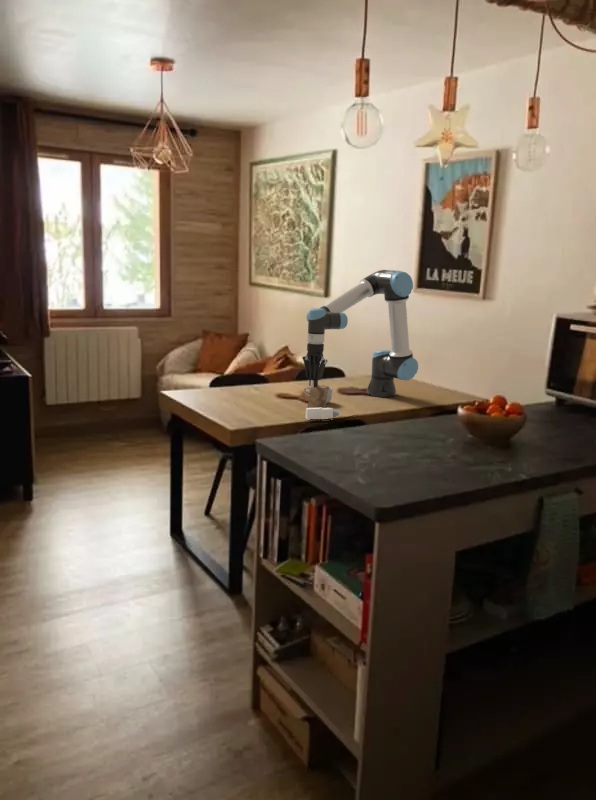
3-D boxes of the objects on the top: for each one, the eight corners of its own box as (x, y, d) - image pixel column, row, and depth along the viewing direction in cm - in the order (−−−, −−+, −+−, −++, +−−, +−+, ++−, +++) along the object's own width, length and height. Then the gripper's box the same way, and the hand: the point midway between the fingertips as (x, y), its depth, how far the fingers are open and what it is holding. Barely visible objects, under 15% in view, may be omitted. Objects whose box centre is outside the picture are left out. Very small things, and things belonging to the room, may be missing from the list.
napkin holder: (299, 421, 292) (300, 408, 291) (308, 415, 303) (308, 403, 302) (332, 425, 288) (333, 412, 286) (340, 420, 298) (341, 407, 297)
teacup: (334, 402, 330) (335, 386, 328) (328, 406, 320) (329, 390, 318) (307, 399, 334) (308, 383, 332) (300, 403, 324) (301, 387, 322)
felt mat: (329, 408, 315) (329, 408, 315) (357, 415, 306) (357, 414, 306) (310, 413, 305) (311, 412, 304) (339, 420, 295) (340, 419, 295)
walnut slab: (319, 407, 316) (322, 384, 312) (324, 409, 314) (328, 387, 310) (307, 410, 309) (310, 387, 306) (313, 412, 307) (316, 389, 304)
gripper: (299, 341, 307) (296, 392, 312) (322, 345, 299) (319, 397, 304) (309, 340, 313) (307, 390, 318) (332, 344, 305) (329, 395, 310)
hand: (313, 393), depth 311 cm, fingers closed
